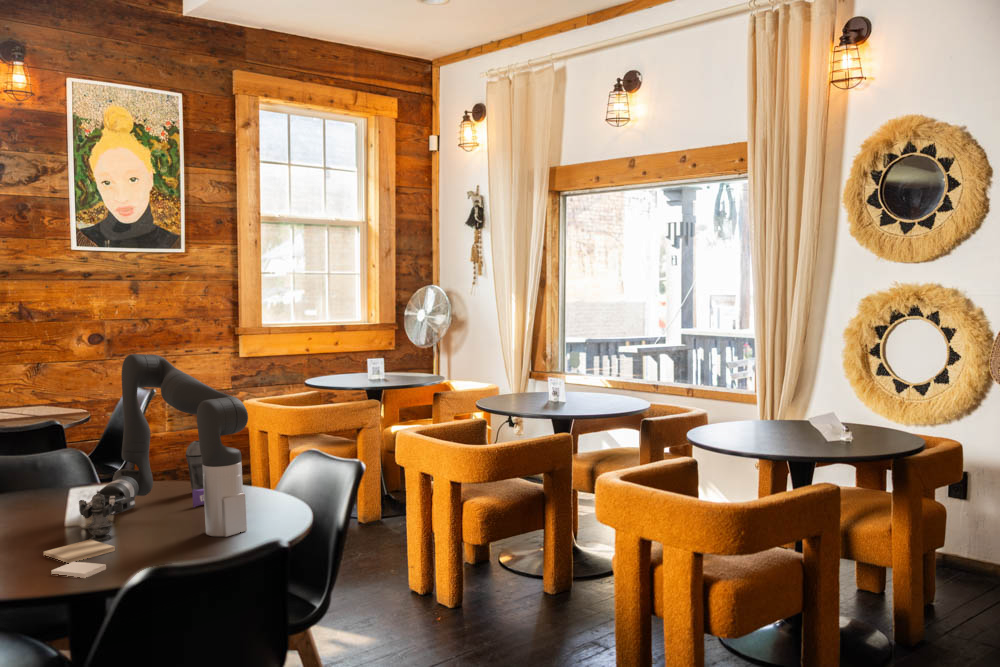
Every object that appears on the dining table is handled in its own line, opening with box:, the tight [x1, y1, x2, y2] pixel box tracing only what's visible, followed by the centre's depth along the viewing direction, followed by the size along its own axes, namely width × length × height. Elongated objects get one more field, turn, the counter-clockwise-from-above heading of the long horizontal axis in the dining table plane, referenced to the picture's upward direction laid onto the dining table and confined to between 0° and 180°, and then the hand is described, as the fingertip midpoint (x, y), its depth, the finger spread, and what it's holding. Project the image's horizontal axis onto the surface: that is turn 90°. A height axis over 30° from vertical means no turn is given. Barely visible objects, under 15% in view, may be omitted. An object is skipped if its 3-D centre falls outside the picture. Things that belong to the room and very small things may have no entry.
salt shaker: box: [86, 490, 114, 543], centre depth 212 cm, size 6×6×12 cm
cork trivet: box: [43, 539, 116, 564], centre depth 201 cm, size 11×11×1 cm
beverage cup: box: [185, 440, 204, 493], centre depth 257 cm, size 7×7×20 cm
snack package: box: [191, 489, 204, 508], centre depth 245 cm, size 12×2×5 cm, turn 139°
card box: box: [51, 561, 107, 579], centre depth 187 cm, size 9×6×2 cm, turn 71°
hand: (95, 513), depth 209 cm, fingers closed on salt shaker, 3 cm apart
